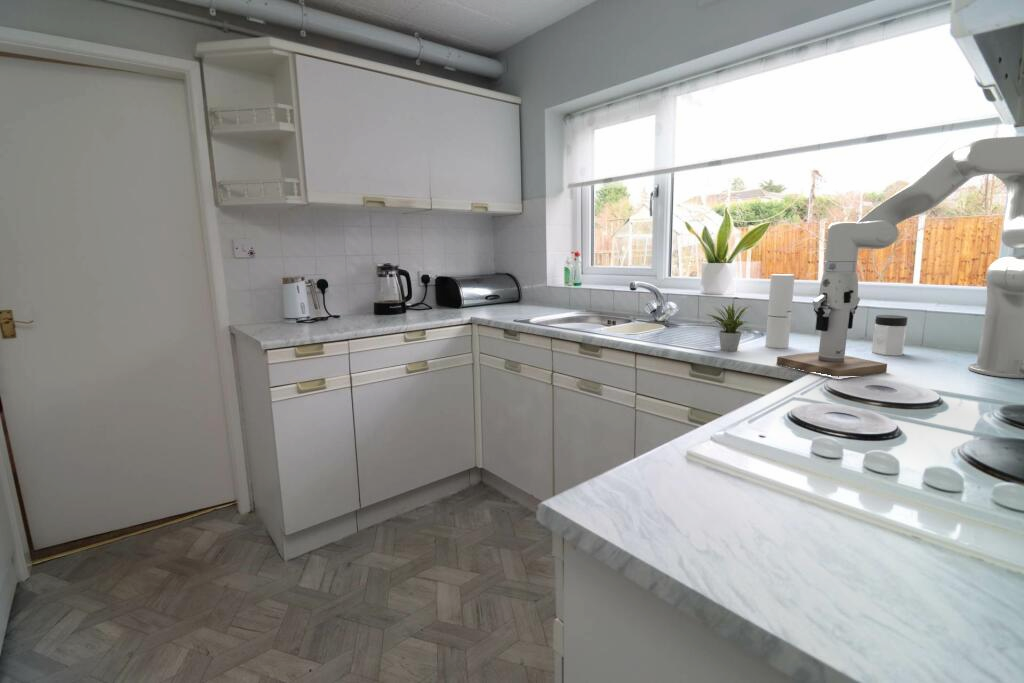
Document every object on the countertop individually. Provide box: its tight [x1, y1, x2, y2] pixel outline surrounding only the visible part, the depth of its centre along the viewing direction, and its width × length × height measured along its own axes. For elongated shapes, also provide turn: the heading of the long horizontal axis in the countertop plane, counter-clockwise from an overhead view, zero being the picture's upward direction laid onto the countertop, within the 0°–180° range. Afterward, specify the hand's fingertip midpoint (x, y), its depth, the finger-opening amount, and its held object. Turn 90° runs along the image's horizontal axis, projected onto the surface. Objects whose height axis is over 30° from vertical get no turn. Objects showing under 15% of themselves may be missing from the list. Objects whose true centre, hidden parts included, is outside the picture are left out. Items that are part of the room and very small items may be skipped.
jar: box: [871, 314, 908, 356], centre depth 161 cm, size 9×8×12 cm
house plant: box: [706, 303, 752, 352], centre depth 170 cm, size 14×14×16 cm
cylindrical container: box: [764, 273, 796, 349], centre depth 173 cm, size 7×7×25 cm
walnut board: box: [776, 351, 888, 377], centre depth 143 cm, size 19×19×2 cm
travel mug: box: [818, 290, 853, 362], centre depth 141 cm, size 6×7×20 cm
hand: (833, 329), depth 141 cm, fingers open, 9 cm apart
